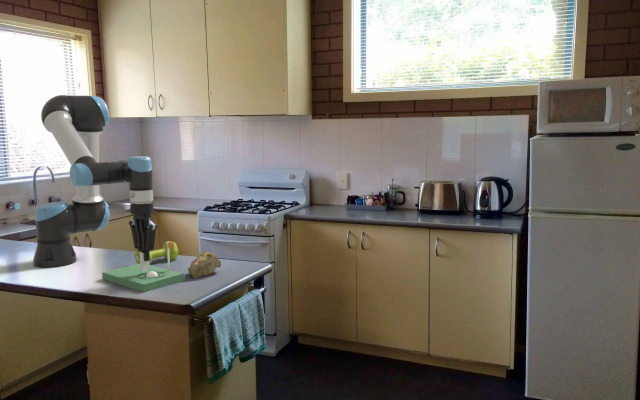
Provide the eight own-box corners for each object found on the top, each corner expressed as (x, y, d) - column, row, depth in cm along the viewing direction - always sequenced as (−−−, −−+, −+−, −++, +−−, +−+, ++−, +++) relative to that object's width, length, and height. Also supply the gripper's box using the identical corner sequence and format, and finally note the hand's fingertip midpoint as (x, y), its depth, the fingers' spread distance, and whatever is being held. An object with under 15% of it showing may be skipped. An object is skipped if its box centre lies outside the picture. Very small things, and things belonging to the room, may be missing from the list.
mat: (102, 279, 190) (102, 272, 190) (141, 269, 203) (141, 262, 203) (144, 292, 176) (143, 284, 176) (183, 280, 189) (183, 273, 189)
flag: (167, 277, 192) (166, 241, 191) (169, 277, 193) (168, 241, 191) (174, 279, 190) (172, 242, 188) (176, 278, 191) (174, 242, 189)
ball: (142, 272, 186) (149, 272, 183) (152, 269, 189) (159, 270, 186) (144, 283, 186) (151, 284, 183) (154, 281, 189) (161, 281, 187)
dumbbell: (145, 268, 205) (144, 250, 204) (132, 265, 210) (132, 247, 209) (181, 260, 217) (180, 242, 216) (168, 257, 222) (168, 239, 221)
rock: (199, 290, 194) (191, 269, 188) (185, 280, 199) (177, 260, 194) (225, 270, 200) (217, 250, 194) (210, 262, 206) (203, 242, 200)
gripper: (120, 201, 186) (124, 269, 189) (143, 205, 178) (147, 275, 181) (139, 199, 192) (142, 264, 195) (163, 202, 184) (166, 270, 187)
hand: (145, 269), depth 188 cm, fingers closed
